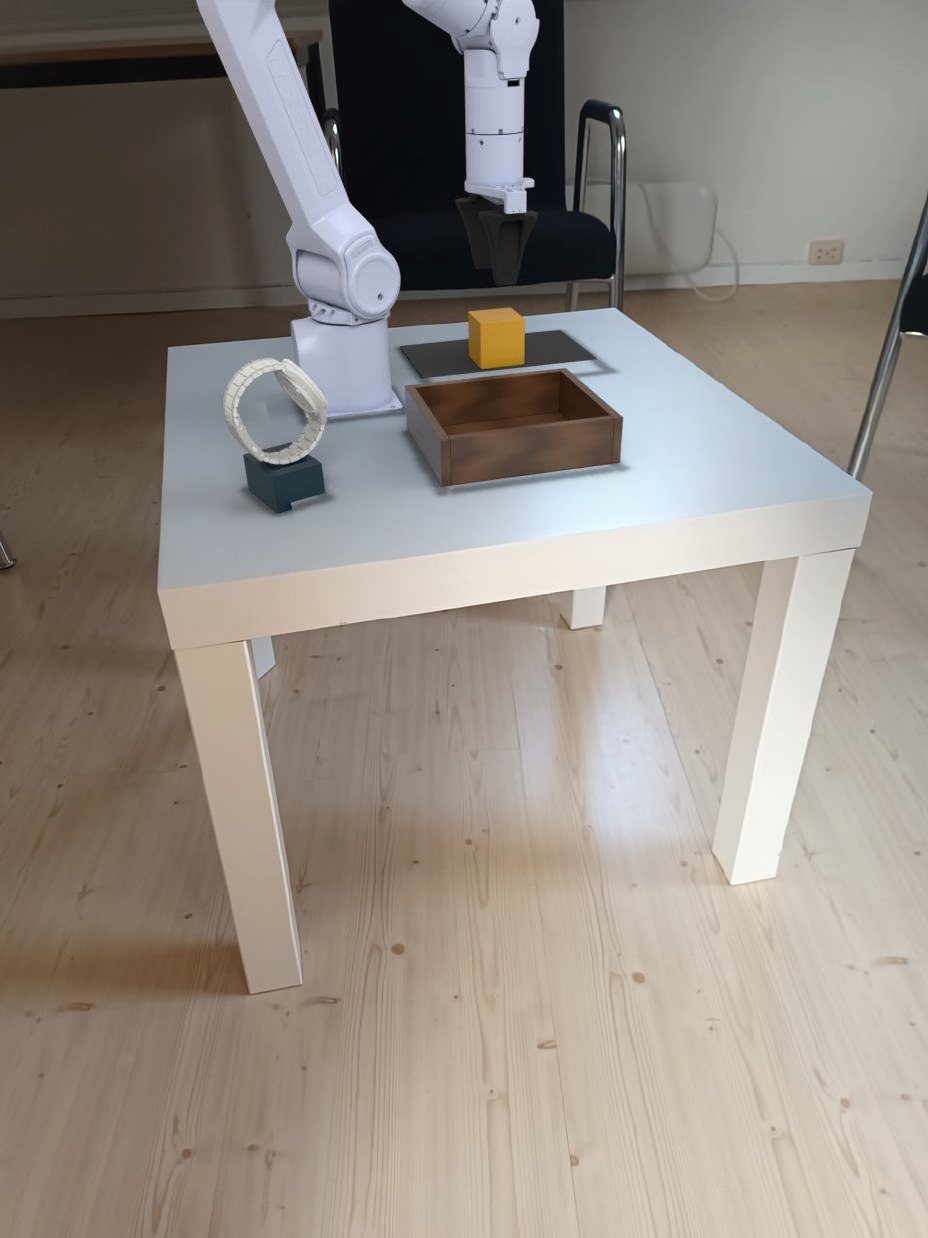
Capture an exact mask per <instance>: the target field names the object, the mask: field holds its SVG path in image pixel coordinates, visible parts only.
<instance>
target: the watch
mask: <svg viewBox="0 0 928 1238" xmlns="http://www.w3.org/2000/svg"><path fill="white" fill-rule="evenodd" d="M272 371H273V372H274V376H275V378H276V380H277V382H278V384H279V385H280V387H281V388H282V389H283V390H284V392H285V393H286V394H287V396H289V398H290V399H291V400H292V401H293V402H294V403H295V404H296V405H297V406H298V407H299V408H301V410H303V413H304V414H305V413H306V414H307V415H309V417H308V418H307V423H306V425H305V426H304V428H303V431H302V433H300V435H299V437H298V438H297V439H296V441H294V442H293V441H290V442H287V443H282V444H279V445H275V446H271V447H267V448H263V447H261V446H260V445H258V444H257V443H255V441H254V440H253V438H252V437H251V435H250V434H249V432H248V430H247V428H246V427H245V425H244V423H243V421H242V418H241V416H240V415H241V414H240V413H238V407H239V403H240V399H241V398H240V397H241V396H242V395H243V393H244V392H245V390H246V388H247V387H248V386H249V385H250V384H251V383H252V382H253V381H254V380H255V379H257V378H258V377H260V376H262V375H264V374H266V373H269V372H272ZM222 400H223V401H222V410H223V415H224V418H223V421H224V423H225V425H226V427H227V429H228V430H229V432H230V434H231V435H232V436H233V438H234V439H235V441H237V443H238V444H239V445H240V446H241V447H242V448H243V449H245V451H247V452H248V453H244V454H242V456H243V457H242V458H243V462H244V469H245V476H246V482H247V488H248V491H249V492H251V493H252V494H253V495H254V496H256V497H257V498H258V499H259V500H261V501H262V502H263V503H264V504H265V505H267V506H268V508H270V509H271V510H273V512H275V513H276V514H281V513H284V512H287V511H290V510H293V506H292V503H295V502H299V501H301V500H306V499H309V498H312V497H315V496H318V495H323V494H326V489H325V487H326V486H325V479H324V471H323V462H321V461H319V460H318V459H316V458H315V457H314V456H312V455H311V454H310V452H312V450H313V449H315V447H317V445H318V442H320V440H321V438H322V437H323V434H324V430H325V427H326V424H327V422H328V417H327V415H326V411H325V409H327V408H328V402H327V400H326V398H325V397H324V395H323V394H322V392H321V391H320V389H319V388H318V387H317V386H316V384H315V383H314V382H313V381H312V380H311V379H310V377H309V376H308V375H307V374H306V373H305V372H304V371H303V370H302V369H301V368H299V367H298V366H297V365H296V364H295V362H294V361H292V360H290V359H289V358H284V359H283V360H282V361H279V360H277V359H275V358H273V357H264V358H258V359H254V360H252V361H250V362H248V363H246V364H244V365H243V366H241V367H240V369H239V368H238V370H236V372H235V373H234V374H233V376H232V378H231V379H230V380H229V382H228V383H227V386H226V389H225V390H224V394H223V399H222Z"/></svg>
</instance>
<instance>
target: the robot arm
mask: <svg viewBox="0 0 928 1238" xmlns="http://www.w3.org/2000/svg"><path fill="white" fill-rule="evenodd" d="M401 1H402V3H403V4H404V5H405V6H406V7H408V9H411V10H412V11H414V12H415V13H416V14H418V15H420V16H421V17H423V18H425V20H427V21H429V22H430V23H432V24H433V25H435V26H436V27H438V28H440V29H441V30H443V31H444V32H446V33H447V34H448V35H450V38H451V41H452V44H453V46H454V48H455V49H456V52H458V53H459V55H463V60H464V61H463V64H464V111H465V112H464V113H465V114H464V115H465V118H464V119H465V121H464V122H465V173H466V174H465V175H466V177H465V180H464V191H465V192H466V193H469V195H468V197H461V198H456V199H455V200H454V202H455V205H456V208H457V209H458V211H459V214H460V216H461V219H462V221H463V224H464V227H465V229H466V233H467V237H468V242H469V247H470V252H471V257H472V262H473V265H474V268H475V269H476V270H488V269H491V271H492V276H493V280H494V285H496V286H498V287H500V286H510V285H516V284H517V282H518V278H519V274H520V269H521V265H522V261H523V255H524V253H525V248H526V244H527V242H528V239H529V238H530V237H529V236H530V235H531V232H532V231H533V228H534V226H535V225H536V223H537V221H538V215H539V214H538V212H536V211H534V210H527V191H526V189H530V188H534V187H535V180H534V178H531V177H524V131H525V130H524V129H525V128H524V125H525V78H526V77H527V72H528V71H530V55H531V51H532V49H533V47H534V45H535V43H536V41H537V37H538V34H539V31H540V30H539V28H540V19H539V18H537V16H536V11H535V10H536V9H535V6H534V4H533V0H401ZM195 2H196V5H197V8H198V11H199V13H200V15H201V17H202V20H203V22H204V25H205V27H206V29H207V31H208V34H209V36H210V38H211V41H212V43H213V45H214V47H215V49H216V52H217V53H218V56H219V59H220V61H221V63H222V65H223V67H224V70H225V73H226V74H227V77H228V79H229V82H230V83H231V86H232V88H233V90H234V93H235V95H236V97H237V100H238V101H239V104H240V106H241V109H242V111H243V113H244V115H245V117H246V120H247V122H248V125H249V127H250V129H251V131H252V134H253V135H254V138H255V141H256V143H257V145H258V147H259V150H260V151H261V154H262V156H263V158H264V160H265V163H266V166H267V168H268V170H269V172H270V174H271V176H272V180H273V181H274V183H275V186H276V188H277V191H278V192H279V196H280V197H281V200H282V202H283V204H284V206H285V209H286V210H287V213H288V215H289V217H290V220H291V222H292V224H291V226H290V228H289V230H288V232H287V234H286V236H285V243H286V244H287V246H288V249H289V251H290V256H291V261H292V262H291V263H292V277H293V281H294V285H295V286H296V288H297V290H298V292H300V294H301V295H302V296H303V297H304V298H306V300H308V301H307V303H308V311H310V316H307V317H304V318H299V319H293V320H291V321H290V334H291V335H290V336H291V345H292V352H293V363H295V364H296V365H297V366H298V367H299V368H301V369H302V370H303V371H304V372H305V373H306V374H307V375H308V376H309V377H310V379H311V380H312V381H313V382H314V383H315V384H316V386H317V387H318V388H319V389H320V391H321V392H322V394H323V395H324V397H325V398H326V400H327V402H328V408H327V409H325V411H326V415H327V418H329V417H337V416H346V415H354V414H364V413H372V412H380V411H389V410H390V411H391V410H399V409H402V408H403V407H404V406H403V404H402V402H401V401H400V400H399V398H398V396H397V394H396V393H395V391H394V389H393V387H392V385H393V384H392V371H391V357H390V356H391V355H390V354H391V353H390V339H389V326H388V325H389V324H388V318H390V317H391V309H392V308H393V306H394V304H395V303H396V301H397V299H398V297H399V295H400V294H399V293H400V289H401V272H400V267H399V265H398V262H397V261H396V259H395V257H394V256H393V255H392V254H391V252H389V251H388V250H387V249H386V248H385V247H384V246H383V244H382V243H381V242H380V239H379V238H378V235H377V232H376V230H375V227H374V226H373V225H372V224H371V223H370V222H369V221H368V220H367V219H366V218H365V217H364V216H363V215H362V214H361V212H359V211H358V210H357V209H356V208H355V207H354V205H352V203H351V202H350V199H349V196H348V194H347V192H346V189H345V187H344V183H343V181H342V179H341V176H340V173H339V170H338V168H337V165H336V163H335V160H334V158H333V155H332V153H331V150H330V148H329V145H328V142H327V140H326V137H325V135H324V132H323V130H322V127H321V124H320V122H319V120H318V119H319V118H318V117H317V114H316V112H315V109H314V106H313V104H312V100H311V99H310V96H309V94H308V91H307V89H306V86H305V83H304V81H303V78H302V75H301V73H300V71H299V68H298V65H297V63H296V60H295V57H294V55H293V52H292V50H291V47H290V44H289V43H288V40H287V37H286V34H285V31H284V29H283V26H282V25H281V21H280V19H279V17H278V13H277V11H276V7H275V3H276V0H195ZM304 415H305V417H306V419H308V417H309V415H307V414H306V413H305V412H304Z"/></svg>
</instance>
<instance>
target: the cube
mask: <svg viewBox="0 0 928 1238" xmlns="http://www.w3.org/2000/svg"><path fill="white" fill-rule="evenodd" d="M467 318H468V319H467V322H468V323H467V325H468V328H467V329H468V330H467V331H468V332H467V333H468V339H469V357H470V358H471V359H472V360H473V361H474V362H475V363H476V364H477V365H478V366H479V368H480V369H488V368H498V367H507V366H516V365H524V342H525V333H526V332H525V331H526V328H525V327H526V319H525V318H524V317H523V316H522V315H521V314H519V313H518V312H517V311H516V310H514V308H512V307H501V308H491V309H481V310H469V311H467Z"/></svg>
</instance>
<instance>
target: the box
mask: <svg viewBox="0 0 928 1238" xmlns="http://www.w3.org/2000/svg"><path fill="white" fill-rule="evenodd" d="M404 401H405V415H406V429H407V430H408V432H409V434H410V435H411V437H412V439H413V440H414V442H415V444H416V445H417V447H418V449H419V451H420V452H421V454H422V455H423V457H424V459H425V461H426V462H427V464H428V466H429V468H430V469H431V471H432V473H433V474H434V476H435V477H436V479H437V481H438V483H439V484H440V486H441V487H442V488H443V487H444V488H445V487H451V486H461V485H467V484H473V483H481V482H488V481H496V480H503V479H504V480H505V479H512V478H518V477H524V476H534V475H541V474H542V475H543V474H548V473H555V472H563V471H570V470H579V469H586V468H593V467H601V466H607V465H615V464H620V463H621V454H622V453H621V452H622V443H623V440H622V439H623V427H624V417H623V416H622V415H621V414H620V413H619V412H618V411H616V409H614V408H613V407H612V406H611V405H610V404H608V403H607V402H606V401H605V400H604V399H603V398H602V397H600V396H599V395H598V394H597V393H596V392H594V390H592V389H591V388H590V387H589V386H588V385H587V384H585V383H584V382H583V381H582V380H581V379H580V378H578V377H577V376H576V375H575V374H574V373H573V372H572V371H570V370H569V369H568V368H567V367H561V368H560V367H559V368H552V369H544V370H543V369H542V370H533V371H525V372H516V373H508V374H507V373H506V374H497V375H487V376H480V377H471V378H462V379H451V380H444V381H435V382H426V383H424V382H423V383H417V384H407V385H404Z"/></svg>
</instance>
